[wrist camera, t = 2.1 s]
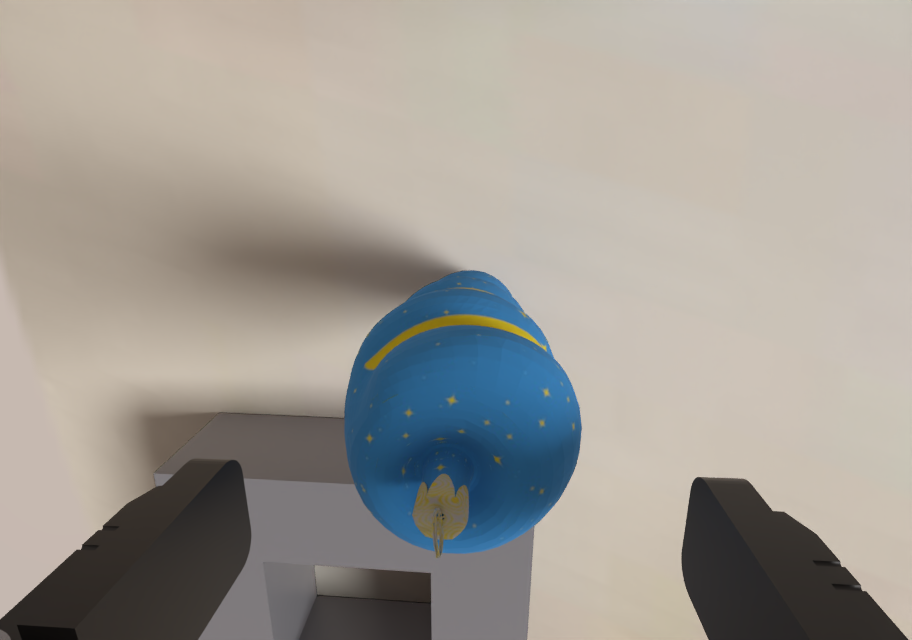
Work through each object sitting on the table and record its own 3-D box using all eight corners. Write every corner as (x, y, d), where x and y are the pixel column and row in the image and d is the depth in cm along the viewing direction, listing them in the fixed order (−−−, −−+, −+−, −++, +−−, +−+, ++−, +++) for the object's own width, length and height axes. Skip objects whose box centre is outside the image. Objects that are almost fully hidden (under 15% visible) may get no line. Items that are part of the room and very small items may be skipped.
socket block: (219, 412, 25) (153, 473, 20) (528, 426, 24) (536, 494, 19) (255, 644, 29) (208, 738, 25) (515, 665, 28) (519, 768, 24)
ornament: (532, 222, 21) (605, 365, 7) (543, 340, 22) (619, 662, 8) (409, 237, 21) (232, 399, 7) (427, 351, 23) (311, 669, 9)
